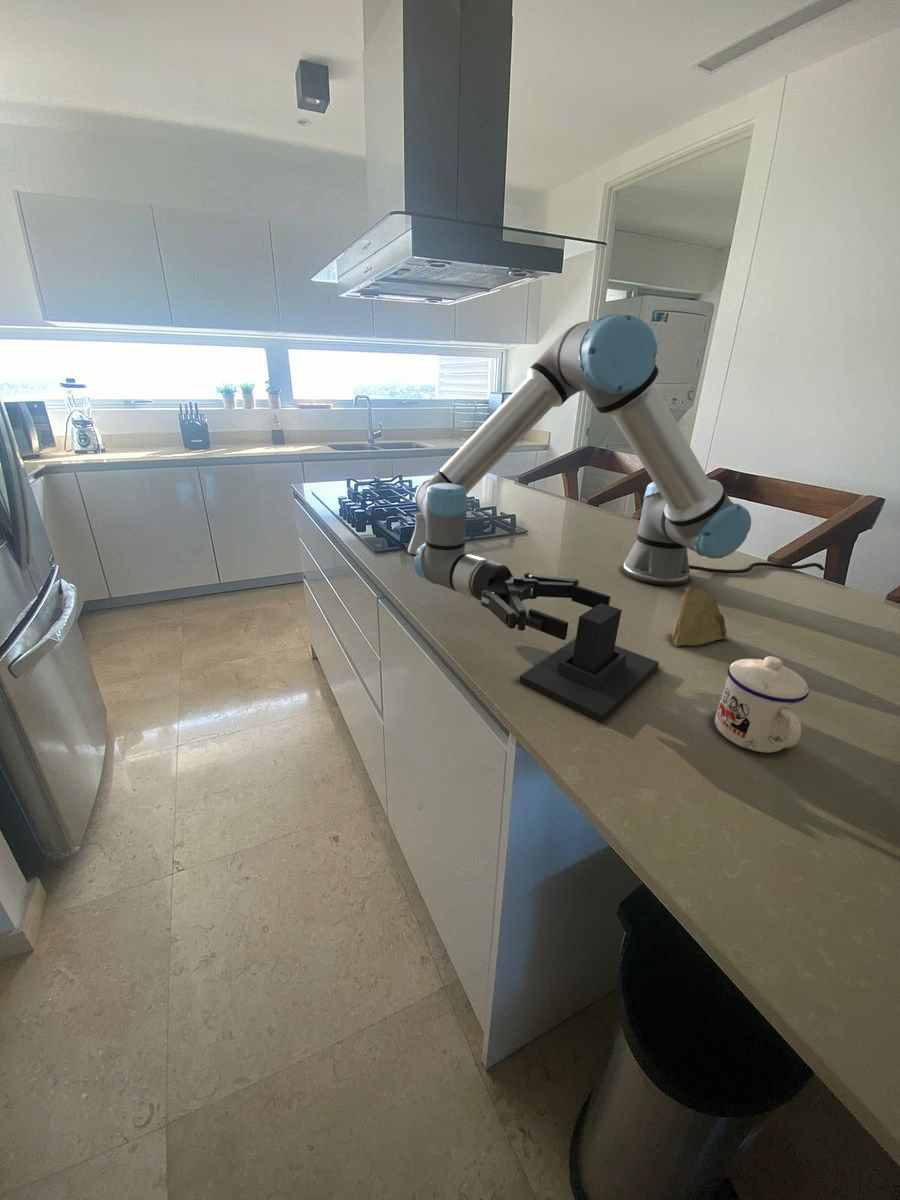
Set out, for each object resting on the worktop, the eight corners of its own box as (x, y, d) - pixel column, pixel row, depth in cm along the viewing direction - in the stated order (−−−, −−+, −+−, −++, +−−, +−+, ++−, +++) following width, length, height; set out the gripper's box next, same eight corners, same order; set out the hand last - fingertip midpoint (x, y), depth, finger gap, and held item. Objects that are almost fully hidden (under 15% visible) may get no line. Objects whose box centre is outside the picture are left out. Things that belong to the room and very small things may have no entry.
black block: (591, 656, 82) (601, 602, 78) (611, 664, 80) (621, 609, 76) (570, 672, 77) (579, 616, 73) (590, 681, 75) (600, 624, 71)
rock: (726, 618, 94) (672, 604, 96) (747, 597, 87) (688, 582, 89) (720, 668, 90) (664, 652, 92) (741, 650, 82) (680, 633, 84)
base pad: (582, 639, 90) (584, 623, 89) (657, 668, 81) (661, 651, 80) (519, 682, 76) (521, 664, 75) (601, 722, 68) (604, 703, 66)
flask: (435, 548, 136) (435, 513, 132) (431, 556, 129) (432, 520, 125) (409, 546, 136) (409, 511, 132) (405, 555, 130) (404, 518, 126)
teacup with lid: (700, 711, 71) (720, 641, 66) (761, 712, 71) (786, 642, 66) (746, 771, 60) (775, 693, 55) (819, 772, 60) (854, 694, 55)
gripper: (520, 581, 99) (619, 614, 86) (435, 619, 82) (542, 667, 69) (524, 546, 96) (626, 574, 83) (436, 578, 79) (548, 620, 66)
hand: (588, 617), depth 76 cm, fingers open, 13 cm apart
